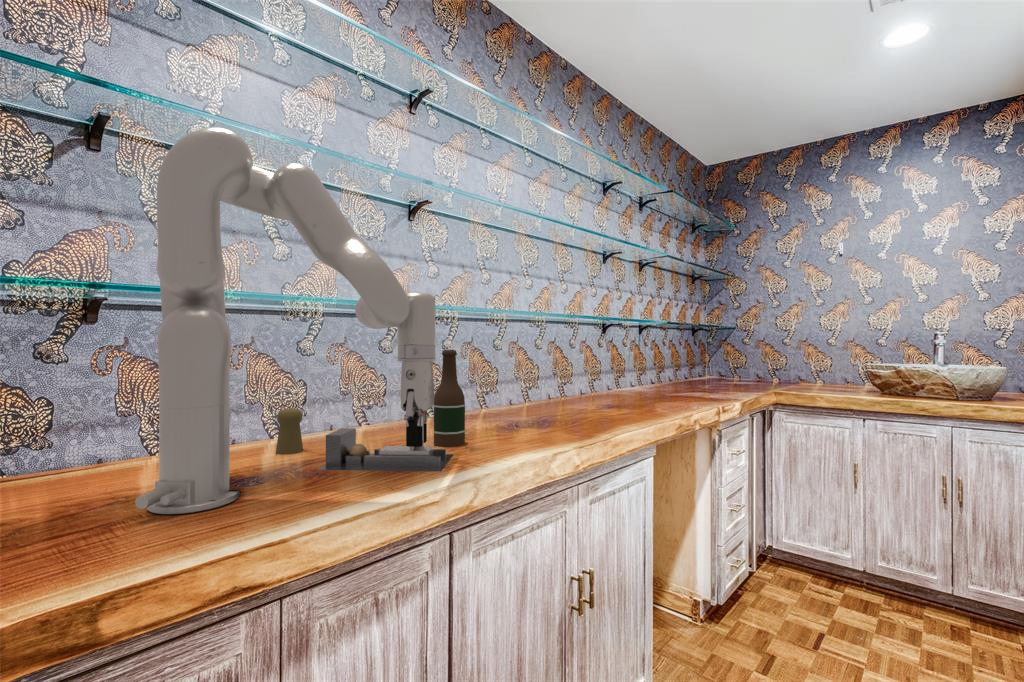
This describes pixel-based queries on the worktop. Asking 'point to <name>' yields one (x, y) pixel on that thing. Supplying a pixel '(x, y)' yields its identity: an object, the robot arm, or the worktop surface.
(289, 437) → the cork
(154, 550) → the worktop surface
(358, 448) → the walnut
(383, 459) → the nutcracker base
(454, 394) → the beer bottle
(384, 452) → the grey and clear stand
